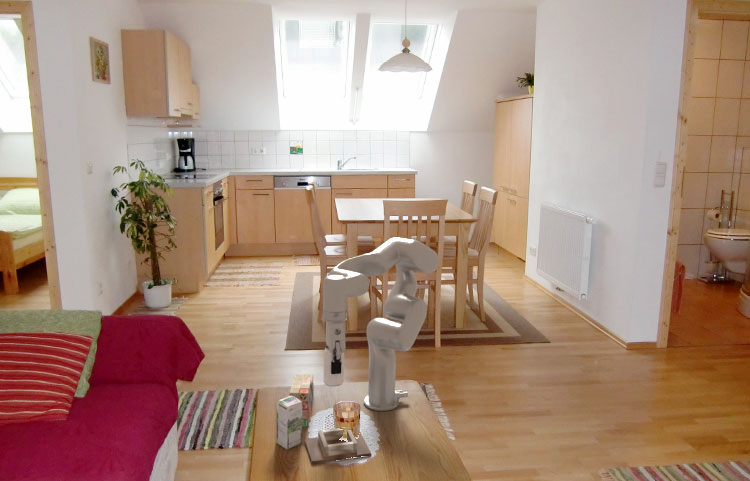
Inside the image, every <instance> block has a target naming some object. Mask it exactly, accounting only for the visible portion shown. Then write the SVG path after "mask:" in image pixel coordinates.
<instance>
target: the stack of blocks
mask: <svg viewBox="0 0 750 481" xmlns="http://www.w3.org/2000/svg"><path fill="white" fill-rule="evenodd" d="M289 396H294V397H296V398H297V399H299V400H300V401H301V402H302V428H304V427H306V428H307V426H308V427H309V425H310V424H309V423H310V420H311V416H312V406H313V404H314V399H315V398H314V374H309V373H308V374H307V373H306V374H296V375H295V376H294V377H293V380H292V384H291V387H290V390H289Z"/></svg>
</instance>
